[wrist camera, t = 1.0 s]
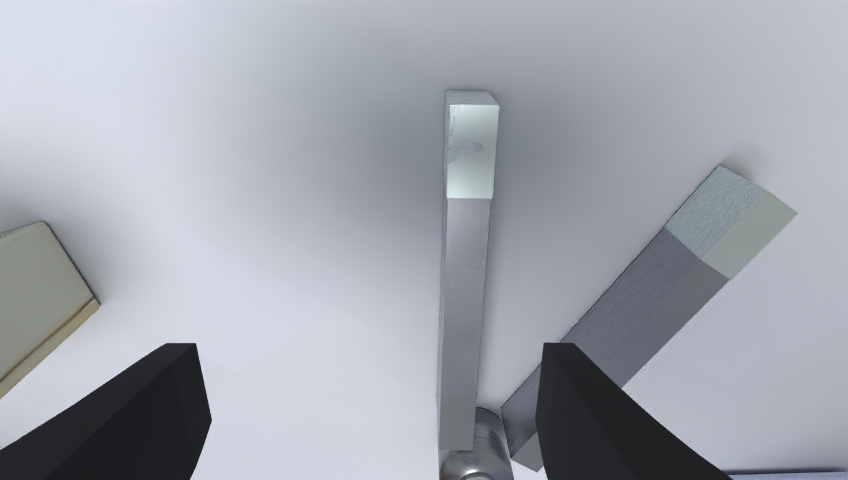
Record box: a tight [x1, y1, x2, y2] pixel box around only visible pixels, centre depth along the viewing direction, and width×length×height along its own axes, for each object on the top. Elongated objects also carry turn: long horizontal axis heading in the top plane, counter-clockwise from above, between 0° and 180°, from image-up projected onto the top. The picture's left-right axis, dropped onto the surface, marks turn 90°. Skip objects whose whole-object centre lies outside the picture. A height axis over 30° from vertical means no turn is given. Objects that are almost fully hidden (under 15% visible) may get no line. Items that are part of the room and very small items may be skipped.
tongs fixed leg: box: [438, 165, 798, 480], centre depth 21 cm, size 18×3×3 cm, turn 147°
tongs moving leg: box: [437, 90, 499, 450], centre depth 20 cm, size 14×2×3 cm, turn 179°
